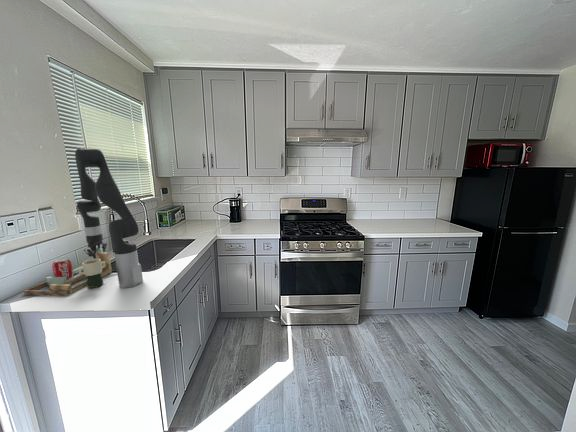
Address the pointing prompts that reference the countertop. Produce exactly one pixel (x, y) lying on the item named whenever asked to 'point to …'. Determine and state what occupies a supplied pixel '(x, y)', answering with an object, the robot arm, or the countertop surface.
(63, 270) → the soda can
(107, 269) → the oak sled
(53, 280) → the sage sled
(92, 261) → the character mug
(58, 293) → the frame
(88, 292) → the countertop surface
